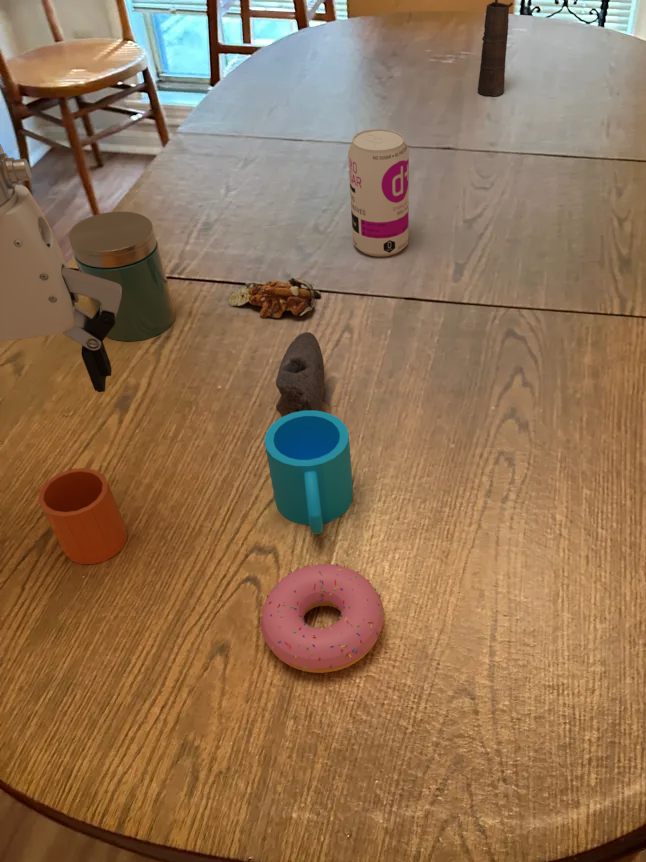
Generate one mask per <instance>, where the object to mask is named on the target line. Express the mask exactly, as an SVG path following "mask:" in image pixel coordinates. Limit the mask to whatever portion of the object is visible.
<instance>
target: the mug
mask: <svg viewBox="0 0 646 862" xmlns="http://www.w3.org/2000/svg"><path fill="white" fill-rule="evenodd" d="M264 447H265V452H266V459H267V465H268V469H269V470H268V471H269V475H270V480H271V487H272V492H273V498H274V502H275V505H276V509H277V510H278V512H279V513H280V514H281V515H282V517H284V518H286V519H287V520H289V521H290V522H292V523H297V524H300V525H303V526H309V529H310V532H311V533H312V534H313V535H319V534H322V533H324V524H327V523H331V522H332V521H334V520H336V519H338V518H341V516H342V515H343V514H345V513H346V512H347V511H348V510H349V508H350V506H351V504H352V502H353V496H354V486H353V473H352V459H351V446H350V433H349V430H348V428H347V425H346V424H345V423H344V422H343V421H342V420H341V419H340V418H339V417H338V416H335V415H334V414H331V413H329V412H325V411H322V410H321V411H307V410H304V411H299V412H294V413H290V414H288V415H286V416H283V417H282V416H281V417H279V418H278V419H277V420H275V421H274V422H273V423H271V425H270V426H269V427H268V429H267V431H266V432H265V438H264Z"/></svg>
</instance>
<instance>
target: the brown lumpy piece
mask: <svg viewBox="0 0 646 862" xmlns="http://www.w3.org/2000/svg"><path fill="white" fill-rule="evenodd" d="M287 281H288V282H287V283H286V282H283V281H279V280H270V281H266V282H265V284H263V285H260V284H258V283H257V282H250V281H249V282H245V287H243V286H239V287H237V288H236V290H234V291H231V293H230V295H229V297H228V298H229V300H228V305H229V306H230V307H232V306H238V307H241V306H243V305H245V304H246V303H248V302H249V304H251V305H252V306H259V307H261V308H260V312H259V317H260V318H261V319H266V318H267V317H270V318H275V319H280V318H282V316H283V313H284V312H285V311H291V313H292V314H293V316H297V317H301V316H303V315H304V314H306V313H307V312H310V311H311V312H312V310H313V308H314V307H316V303H315V297H317V298H321V297H322V294H321V292H320V291H319V290H314V285H315V283H313V282H311V281H310V282H309V281H306V280H301V279H300V278H299V277H296V278H295V277H291V278H289V280H287ZM303 286H304V287H306V288H307V289H306V288H303Z"/></svg>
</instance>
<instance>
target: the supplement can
mask: <svg viewBox="0 0 646 862" xmlns="http://www.w3.org/2000/svg"><path fill="white" fill-rule="evenodd" d="M347 152H348V153H347V155H348V158H347V159H348V173H349V174H348V175H349V193H350V214H351V233H352V243H353V244H354V247H355V248H357V249H358V250H359V251H360V252H361V253H362V254H365V255H367V256H372V257H378V258H380V257H381V258H382V257H389V256H394V255H396V254H398V253H401V252H402V250H403V249H404V248H406V246H407V245H408V244H409V227H410V225H409V223H410V221H409V217H410V216H409V215H410V214H409V207H410V206H409V204H410V202H409V201H410V200H409V199H410V198H409V192H410V191H409V190H410V187H409V185H410V183H409V181H410V180H409V179H410V175H409V174H410V149H409V147H408V145H407V143H406V142H405V137H404V136H403V134H402V133H400V132H397V131H395V130H392V129H386V128H371V129H365V130H362V131H360V132H357V133H356V134H355V135H354V136H353V137H352V140H351V143H350V146H349V149H348V151H347Z"/></svg>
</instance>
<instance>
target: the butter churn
mask: <svg viewBox="0 0 646 862" xmlns="http://www.w3.org/2000/svg"><path fill="white" fill-rule="evenodd" d="M513 5H514V2H510V3H509V4H507V3H503V2H499V0H494V1H492V2H490V3H488V4H487V5H486V9H485V18H484V24H483V29H484V30H483V36H482V38H481V40H482V46H481V56H480V66H479V76H478V82H477V93H478V94H480V95H483V96H491V97H497V96H501V95H503V94H504V92H505V75H506V74H505V73H506V57H507V47H508V35H509V21H510V20H509V14H510V13H509V12H510V8H512V6H513Z"/></svg>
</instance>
